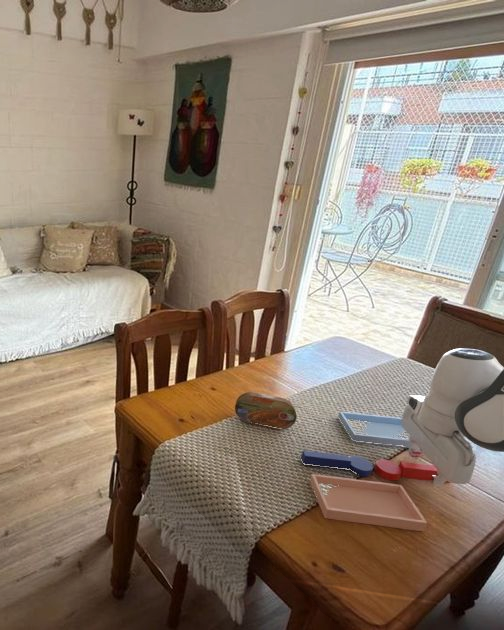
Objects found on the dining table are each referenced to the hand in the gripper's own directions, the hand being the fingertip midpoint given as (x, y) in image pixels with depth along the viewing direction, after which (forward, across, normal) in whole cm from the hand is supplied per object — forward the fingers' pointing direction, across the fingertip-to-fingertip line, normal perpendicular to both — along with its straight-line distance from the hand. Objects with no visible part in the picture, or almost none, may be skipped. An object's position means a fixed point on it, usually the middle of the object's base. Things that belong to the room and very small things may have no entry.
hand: (423, 469), depth 99 cm
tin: (+2, +15, +32) cm, 35 cm away
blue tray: (+2, +16, +2) cm, 16 cm away
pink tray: (+2, -12, +17) cm, 20 cm away
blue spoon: (+2, 0, +18) cm, 18 cm away
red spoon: (+2, 0, +3) cm, 3 cm away
